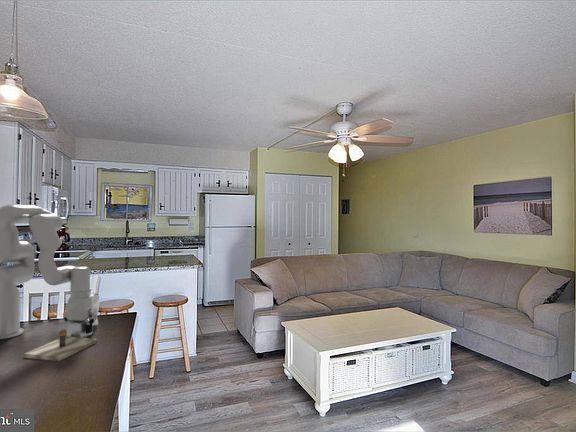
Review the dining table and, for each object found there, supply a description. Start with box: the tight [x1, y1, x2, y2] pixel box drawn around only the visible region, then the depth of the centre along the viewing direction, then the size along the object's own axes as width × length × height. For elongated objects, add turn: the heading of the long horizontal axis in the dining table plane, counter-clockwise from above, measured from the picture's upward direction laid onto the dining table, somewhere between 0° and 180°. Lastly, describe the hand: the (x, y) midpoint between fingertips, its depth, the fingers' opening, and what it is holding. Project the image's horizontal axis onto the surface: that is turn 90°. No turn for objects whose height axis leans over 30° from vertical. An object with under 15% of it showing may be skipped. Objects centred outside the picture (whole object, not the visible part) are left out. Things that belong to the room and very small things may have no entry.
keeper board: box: [23, 329, 98, 362], centre depth 136 cm, size 16×19×8 cm
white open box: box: [66, 319, 94, 338], centre depth 152 cm, size 7×7×7 cm
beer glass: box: [90, 293, 100, 327], centre depth 168 cm, size 7×7×15 cm
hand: (80, 332), depth 152 cm, fingers open, 8 cm apart
